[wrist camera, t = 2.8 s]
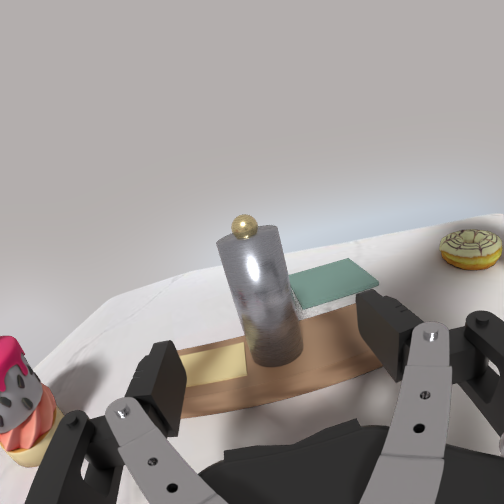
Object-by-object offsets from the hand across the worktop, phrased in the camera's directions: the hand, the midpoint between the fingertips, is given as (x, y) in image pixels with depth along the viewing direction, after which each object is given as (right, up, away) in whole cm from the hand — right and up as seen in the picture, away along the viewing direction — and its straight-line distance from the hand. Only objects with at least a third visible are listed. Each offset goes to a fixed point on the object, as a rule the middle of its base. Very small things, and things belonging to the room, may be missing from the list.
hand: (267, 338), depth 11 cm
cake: (-24, -17, +7) cm, 30 cm away
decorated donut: (+33, +2, +22) cm, 40 cm away
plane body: (+2, -8, +14) cm, 16 cm away
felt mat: (+11, -1, +30) cm, 31 cm away
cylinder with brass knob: (+2, -5, +13) cm, 15 cm away
